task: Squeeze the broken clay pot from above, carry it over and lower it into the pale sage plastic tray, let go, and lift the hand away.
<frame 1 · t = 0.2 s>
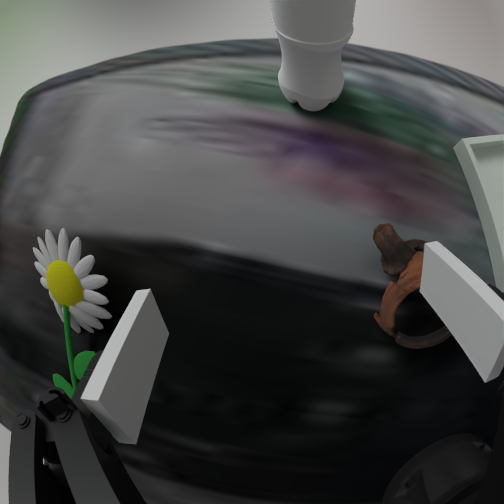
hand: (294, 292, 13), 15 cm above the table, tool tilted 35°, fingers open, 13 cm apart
water bottle: (310, 94, 31), on the table
broken clay pot: (402, 281, 27), on the table
decorative flower: (84, 357, 31), on the table
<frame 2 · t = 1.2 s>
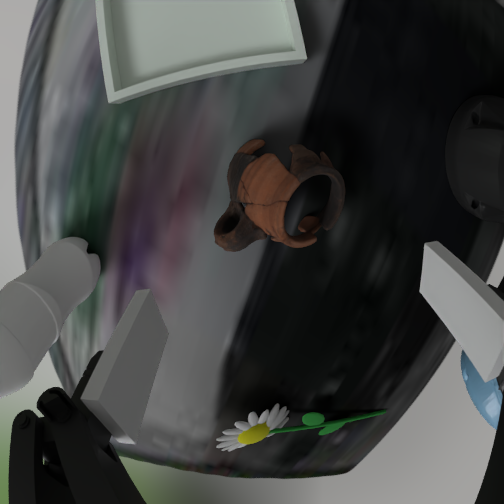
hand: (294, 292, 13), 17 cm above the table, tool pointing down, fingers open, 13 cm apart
water bottle: (81, 257, 31), on the table
broken clay pot: (270, 189, 28), on the table
tray: (192, 0, 20), on the table
decorative flower: (307, 414, 44), on the table
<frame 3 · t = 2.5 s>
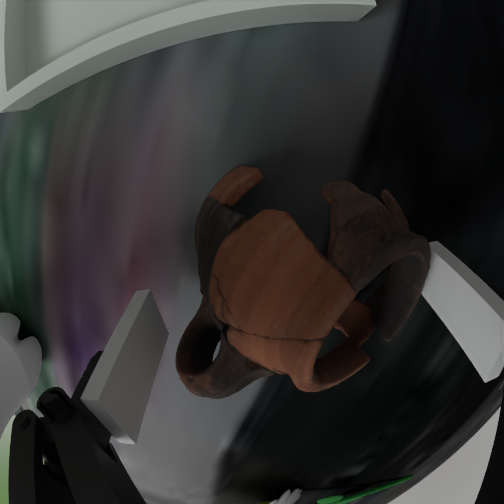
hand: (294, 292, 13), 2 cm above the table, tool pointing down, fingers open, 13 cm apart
water bottle: (20, 335, 19), on the table
broken clay pot: (279, 258, 15), on the table
decorative flower: (322, 489, 31), on the table
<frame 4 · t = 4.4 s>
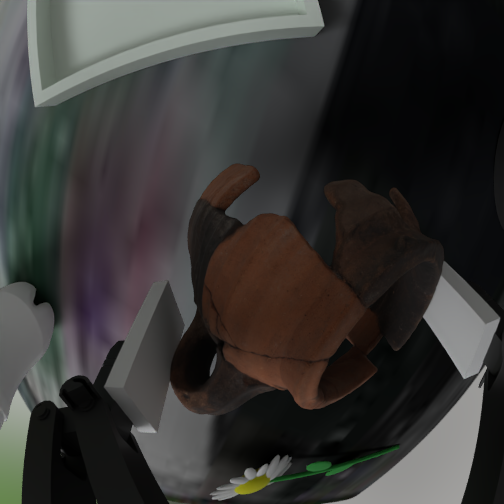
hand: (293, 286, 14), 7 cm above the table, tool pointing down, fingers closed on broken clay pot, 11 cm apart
water bottle: (33, 304, 23), on the table
broken clay pot: (278, 263, 14), point 6 cm above the table, touching gripper
decorative flower: (312, 458, 36), on the table
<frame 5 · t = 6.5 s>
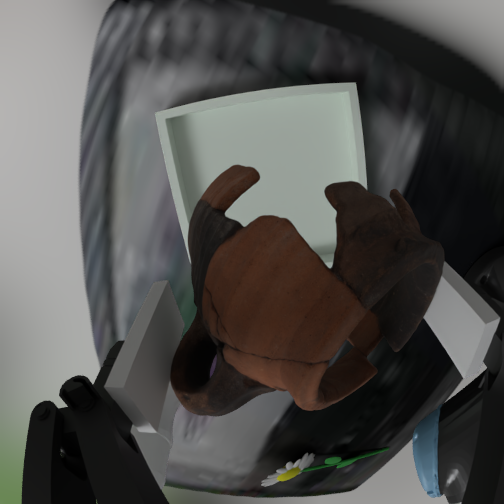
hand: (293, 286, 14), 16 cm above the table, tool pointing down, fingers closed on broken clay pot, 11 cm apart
water bottle: (162, 373, 40), on the table
broken clay pot: (279, 264, 14), point 15 cm above the table, touching gripper
tray: (270, 183, 28), on the table
decorative flower: (328, 455, 52), on the table
when the fingers open (4 cm above the table, at t = 10.1 s): broken clay pot drops 2 cm, resting on tray.
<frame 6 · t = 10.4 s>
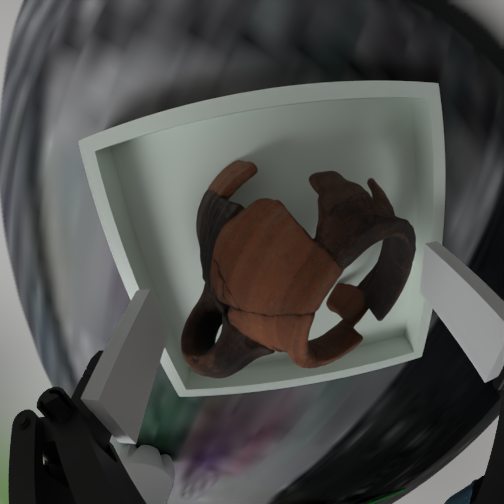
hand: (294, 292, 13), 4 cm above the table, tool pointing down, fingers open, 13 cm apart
water bottle: (149, 451, 29), on the table
broken clay pot: (275, 246, 16), resting on tray
tray: (285, 252, 17), on the table
decorative flower: (340, 502, 41), on the table
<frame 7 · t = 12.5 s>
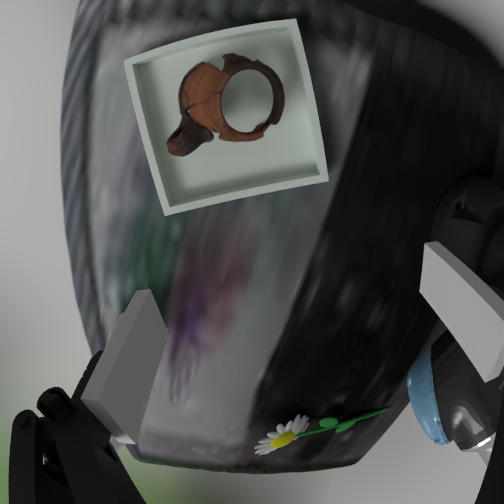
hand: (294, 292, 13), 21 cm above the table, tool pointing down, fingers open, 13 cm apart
broken clay pot: (219, 106, 28), resting on tray
tray: (227, 113, 29), on the table
decorative flower: (324, 418, 54), on the table
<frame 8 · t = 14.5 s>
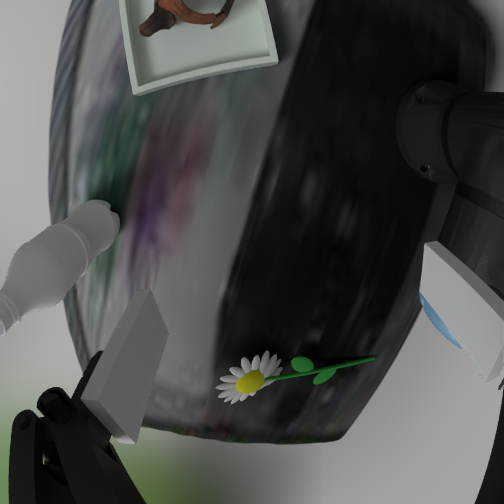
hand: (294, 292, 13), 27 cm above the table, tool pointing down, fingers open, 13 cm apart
water bottle: (103, 218, 40), on the table
broken clay pot: (187, 12, 27), resting on tray
tray: (194, 18, 28), on the table
decorative flower: (299, 363, 52), on the table
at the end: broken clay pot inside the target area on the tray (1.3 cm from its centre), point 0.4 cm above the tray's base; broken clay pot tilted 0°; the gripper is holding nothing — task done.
